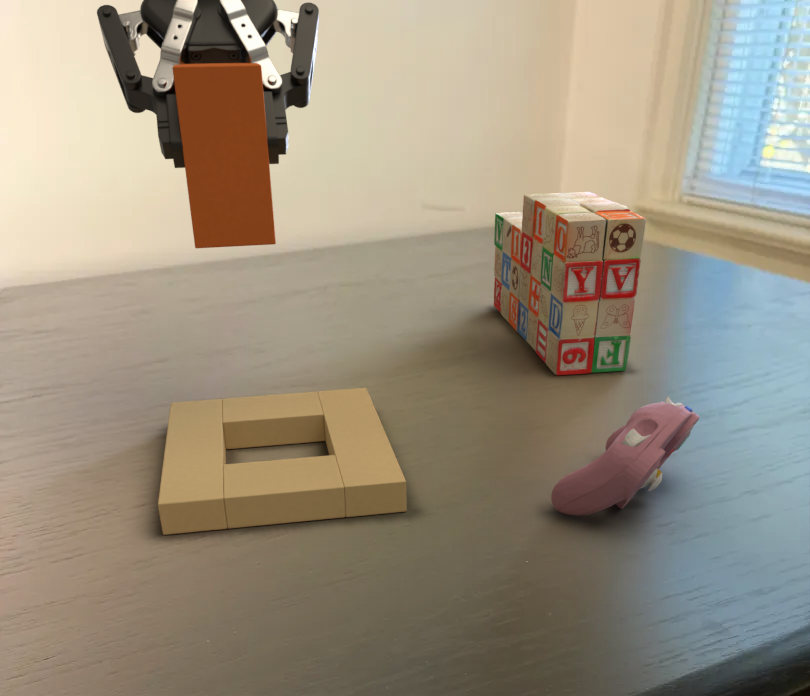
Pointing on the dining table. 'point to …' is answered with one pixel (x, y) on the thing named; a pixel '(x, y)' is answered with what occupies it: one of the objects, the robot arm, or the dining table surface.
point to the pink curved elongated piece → (627, 460)
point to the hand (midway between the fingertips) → (225, 156)
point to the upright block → (225, 153)
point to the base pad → (276, 462)
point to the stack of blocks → (570, 278)
